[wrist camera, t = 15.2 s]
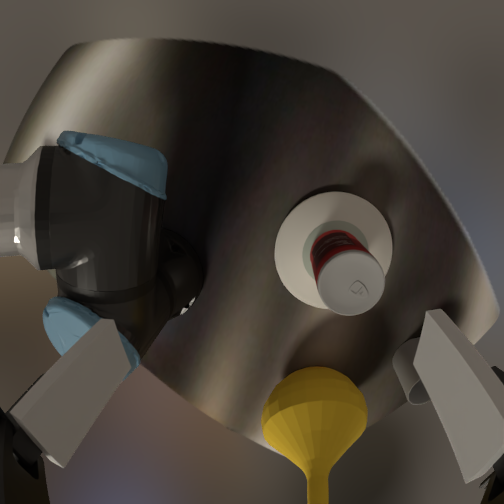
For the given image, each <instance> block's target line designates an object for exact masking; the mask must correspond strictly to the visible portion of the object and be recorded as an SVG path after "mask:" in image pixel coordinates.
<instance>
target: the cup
mask: <svg viewBox="0 0 504 504" xmlns="http://www.w3.org/2000/svg"><path fill="white" fill-rule="evenodd" d="M419 340H420V338H419V337H418V338H414V339H410V340H408V341H407V342H405V343H404V344H402V345H401V346H400V347H399V348H398V349H397V351H396V352H395V354H394V357H393V359H392V361H393V367H394V369H395V371H396V373H397V376H398V378H399V380H400V383H401V385H402V387H403V390H404V392H405V394H406V397H407V399H408V401H409V402H410V403H412V404H417V405H420V404H423V403H426V402H429V401H431V399H430V397H429V394H428V392H427V390H426V388H425V386H424V384H423V382H422V380H421V378H420V376H419V375H418V373H417V371H416V369H415V367H414V365H413V362H414V358H415V355H416V351H417V348H418V344H419Z"/></svg>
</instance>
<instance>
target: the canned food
mask: <svg viewBox="0 0 504 504" xmlns="http://www.w3.org/2000/svg"><path fill="white" fill-rule="evenodd" d="M310 261H311V265H312V269H313V273H314V277H315V281H316V285H317V290H318V293H319V295H320V298H321V300H322V301H323V303H324V304H325V305H326V307H328V308H329V309H330V310H331V311H333V312H335V313H337V314H340V315H346V316H352V315H358V314H361V313H364V312H366V311H368V310H369V309H371V308H372V307H373V306H374V305H375V304H376V303H377V302H378V301H379V299H380V298H381V296H382V294H383V291H384V287H385V275H384V272H383V269H382V267H381V265H380V264H379V262H378V261H377V260H376V258H375V257H374V256H373V255H372V254H371V253H370V252H369V251H368V250H367V249H366V248H365V247H364V246H363V245H362V244H361V243H360V242H359V241H358V240H357V239H356V237H355V236H353V235H352V234H350V233H349V232H346V231H343V230H331V231H327V232H325V233H323V234H322V235H320V236H319V237H318V238H317V239H316V240H315V242H314V243H313V245H312V248H311V251H310Z"/></svg>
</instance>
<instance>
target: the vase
mask: <svg viewBox="0 0 504 504" xmlns="http://www.w3.org/2000/svg"><path fill="white" fill-rule="evenodd" d="M366 423H367V407H366V403H365V400H364V396H363V394H362V393H361V391H360V390H359V389H358V388H357V387H356V386H355V385H354V383H353V382H352V381H351V380H350V379H349V378H348V377H347V376H345V375H344V374H342V373H340V372H338V371H336V370H334V369H331V368H327V367H317V366H315V367H307V368H303V369H300V370H297V371H295V372H293V373H291V374H289V375H288V376H287V377H286V378H285V379H283V380H282V381H281V382H280V383H279V384H277V385H276V387H275V388H274V390H273V391H272V393H271V395H270V396H269V398H268V400H267V401H266V403H265V405H264V408H263V413H262V419H261V424H262V430H263V434H264V438H265V440H266V441H267V442H268V443H269V445H270V446H272V447H273V448H275V449H276V450H277V451H279V452H280V453H282V454H283V455H285V456H286V457H287V458H288V459H290V460H291V461H292V462H293V463H295V464H296V465H297V466H298V467H300V468H301V469H302V470H303V472H304V473H305V475H306V478H307V480H308V487H307V490H308V491H307V492H308V493H307V494H308V504H328V503H329V502H328V497H329V496H328V495H329V494H328V475H329V472H330V470H331V468H332V466H333V465H334V464H335V463H336V462H337V460H338V459H339V458H340V457H341V456H342V455H343V454H344V453H345V451H346V450H347V449H348V448H349V447H350V446H351V445H352V444H353V443H354V442H355V441H356V440H357V439H358V438H359V437H360V436H361V434H362V433H363V431H364V430H365V428H366Z"/></svg>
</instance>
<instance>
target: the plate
mask: <svg viewBox="0 0 504 504" xmlns="http://www.w3.org/2000/svg"><path fill="white" fill-rule="evenodd" d="M331 230H343V231H346V232H349V233H350V234H352V235H353V236H355V237H356V239H357V240H358V241H359V242H360V243H361V244H362V245H363V246H364V247H365V248H366V249H367V250H368V251H369V252H370V253H371V254H372V255H373V256H374V257H375V258H376V260H377V261H378V262H379V264H380V265H381V267H382V269H383V272H384V275H386V273H387V271H388V269H389V266H390V262H391V258H392V237H391V233H390V229H389V227H388V225H387V222H386V220H385V219H384V217H383V216H382V214H381V213H380V212H379V211H378V209H377V208H375V207H374V206H373V205H372V204H371V203H369V202H368V201H367V200H365V199H363V198H361V197H359V196H356V195H353V194H350V193H346V192H337V191H332V192H324V193H320V194H317V195H314V196H311V197H309V198H307V199H306V200H304V201H302V202H301V203H300V204H298V205H297V206H296V207H295V208H294V209H293V210H292V211H291V212H290V213H289V214H288V215H287V217H286V218H285V220H284V221H283V223H282V225H281V227H280V229H279V231H278V235H277V238H276V244H275V263H276V268H277V271H278V274H279V276H280V279H281V280H282V282H283V284H284V285H285V287H286V288H287V289H288V290H289V292H290V293H292V294H293V295H294V296H295V297H296V298H298V299H299V300H300V301H302V302H304V303H306V304H308V305H311V306H314V307H318V308H324V309H329V308H328V307H326V305H325V304H324V303H323V301H322V300H321V298H320V295H319V293H318V290H317V285H316V281H315V277H314V273H313V269H312V265H311V261H310V251H311V248H312V245H313V243H314V242H315V240H316V239H317V238H318V237H319V236H320V235H322V234H323V233H325V232H327V231H331Z"/></svg>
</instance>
